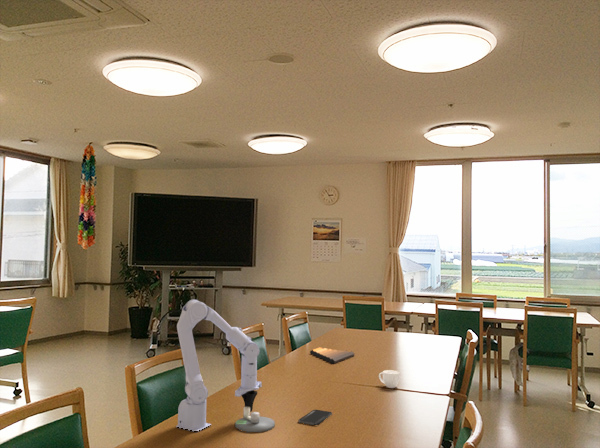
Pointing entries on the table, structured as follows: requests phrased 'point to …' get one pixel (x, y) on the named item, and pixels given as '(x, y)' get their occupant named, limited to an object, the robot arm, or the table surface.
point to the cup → (390, 378)
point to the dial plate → (255, 424)
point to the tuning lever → (253, 417)
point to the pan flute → (331, 355)
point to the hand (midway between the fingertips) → (248, 411)
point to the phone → (315, 417)
